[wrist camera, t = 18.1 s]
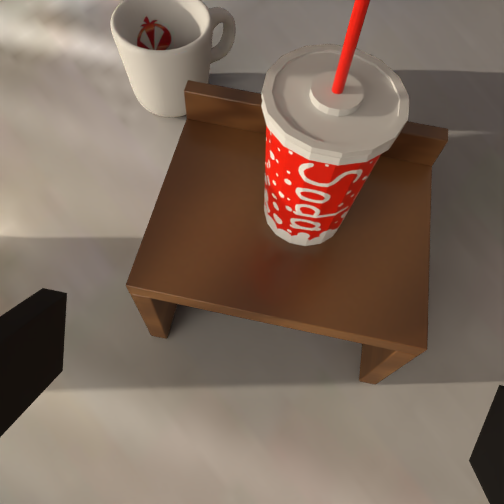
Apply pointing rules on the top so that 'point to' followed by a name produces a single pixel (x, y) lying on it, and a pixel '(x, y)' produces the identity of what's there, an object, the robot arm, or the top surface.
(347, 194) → the beverage cup
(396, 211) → the shelf
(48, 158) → the top surface
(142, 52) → the cup
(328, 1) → the top surface
